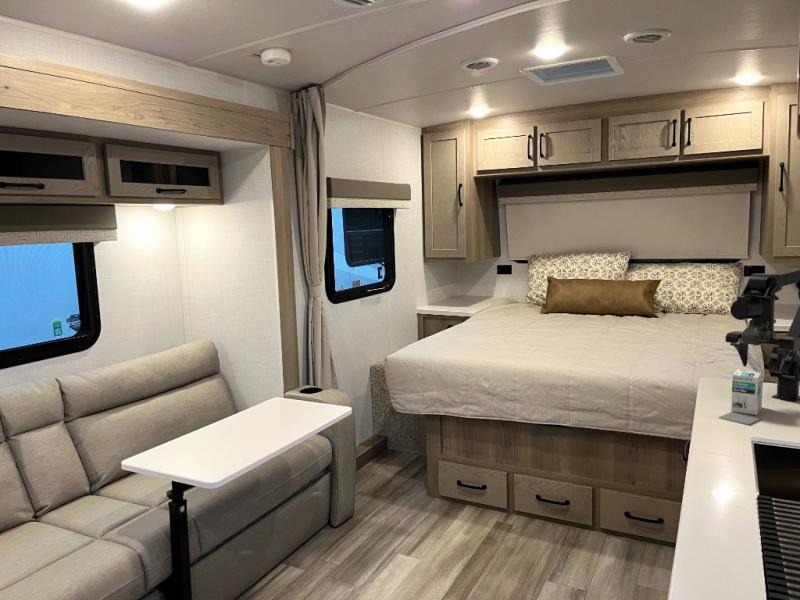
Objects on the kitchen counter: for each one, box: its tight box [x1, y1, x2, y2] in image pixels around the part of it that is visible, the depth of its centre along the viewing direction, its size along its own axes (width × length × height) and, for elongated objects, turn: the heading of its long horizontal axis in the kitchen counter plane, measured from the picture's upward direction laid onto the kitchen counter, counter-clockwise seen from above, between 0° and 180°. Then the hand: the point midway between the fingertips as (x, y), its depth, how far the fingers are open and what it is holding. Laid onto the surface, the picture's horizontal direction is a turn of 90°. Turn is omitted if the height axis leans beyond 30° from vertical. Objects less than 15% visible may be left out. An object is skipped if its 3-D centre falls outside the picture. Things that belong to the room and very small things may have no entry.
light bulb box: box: [730, 368, 764, 416], centre depth 174 cm, size 11×7×11 cm, turn 143°
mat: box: [718, 411, 764, 426], centre depth 167 cm, size 8×8×1 cm
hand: (761, 368), depth 178 cm, fingers open, 9 cm apart
